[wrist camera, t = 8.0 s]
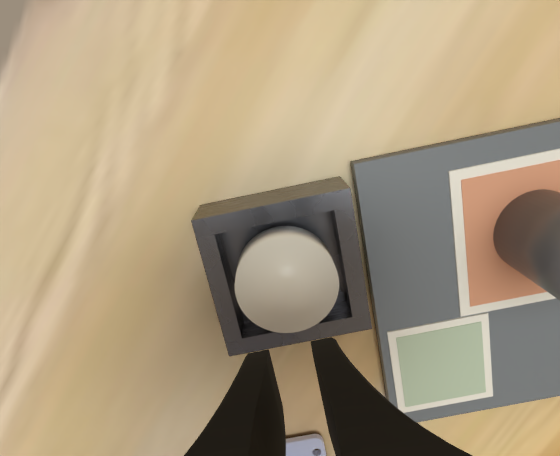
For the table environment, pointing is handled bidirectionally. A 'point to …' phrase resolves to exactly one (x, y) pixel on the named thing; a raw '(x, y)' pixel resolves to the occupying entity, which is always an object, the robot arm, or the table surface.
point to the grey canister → (532, 237)
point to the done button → (286, 280)
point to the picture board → (458, 273)
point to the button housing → (272, 213)
